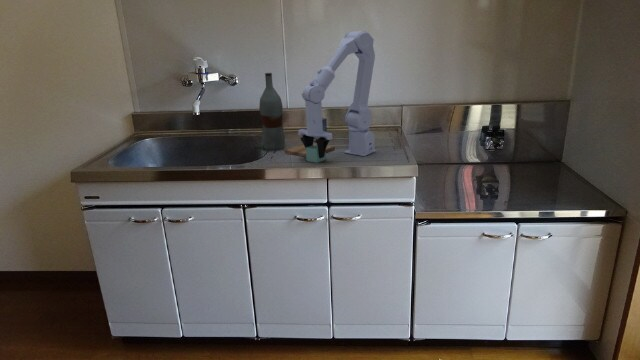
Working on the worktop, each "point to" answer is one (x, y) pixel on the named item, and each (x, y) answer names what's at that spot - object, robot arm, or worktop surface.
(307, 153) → the cube
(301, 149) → the board
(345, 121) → the robot arm
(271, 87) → the bottle
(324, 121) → the dark blue flat box
